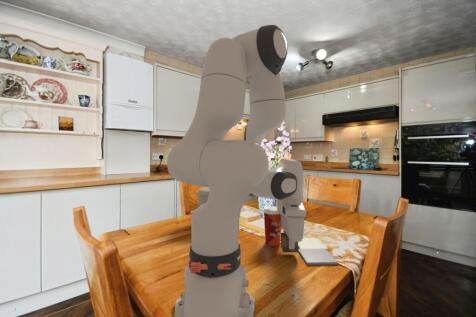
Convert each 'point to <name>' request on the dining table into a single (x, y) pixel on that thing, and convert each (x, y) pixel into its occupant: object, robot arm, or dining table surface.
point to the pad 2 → (317, 257)
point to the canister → (203, 195)
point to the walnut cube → (285, 244)
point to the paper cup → (272, 226)
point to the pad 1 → (311, 244)
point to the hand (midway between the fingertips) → (289, 244)
